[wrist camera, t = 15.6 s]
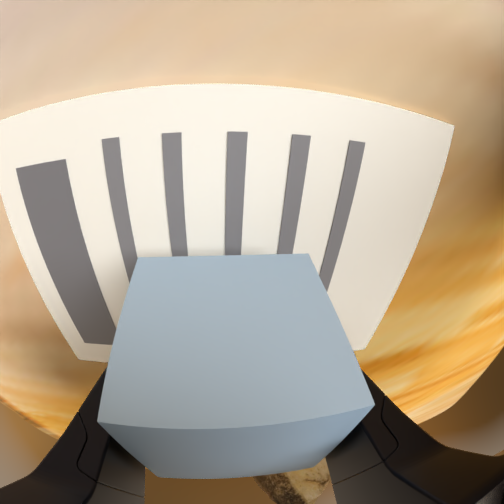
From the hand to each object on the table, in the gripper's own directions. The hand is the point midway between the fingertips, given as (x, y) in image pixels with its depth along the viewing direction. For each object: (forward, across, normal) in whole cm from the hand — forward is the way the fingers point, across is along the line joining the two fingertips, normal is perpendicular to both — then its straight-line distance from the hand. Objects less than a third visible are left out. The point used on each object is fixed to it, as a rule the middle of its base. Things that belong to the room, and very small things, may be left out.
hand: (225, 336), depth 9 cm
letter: (+3, 0, 0) cm, 3 cm away
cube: (+1, 0, 0) cm, 1 cm away
